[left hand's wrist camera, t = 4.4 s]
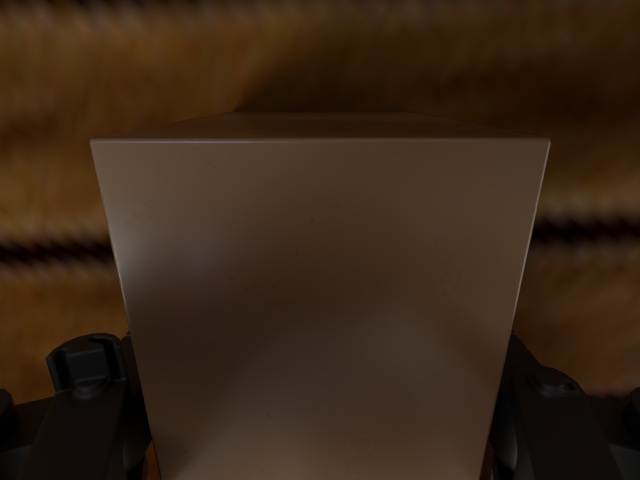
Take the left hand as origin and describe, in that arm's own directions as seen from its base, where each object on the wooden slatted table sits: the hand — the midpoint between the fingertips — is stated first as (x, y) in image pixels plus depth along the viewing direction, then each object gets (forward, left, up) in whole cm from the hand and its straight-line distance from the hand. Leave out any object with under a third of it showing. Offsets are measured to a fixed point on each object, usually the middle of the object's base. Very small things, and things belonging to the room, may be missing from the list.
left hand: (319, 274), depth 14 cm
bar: (+2, +18, 0) cm, 19 cm away
